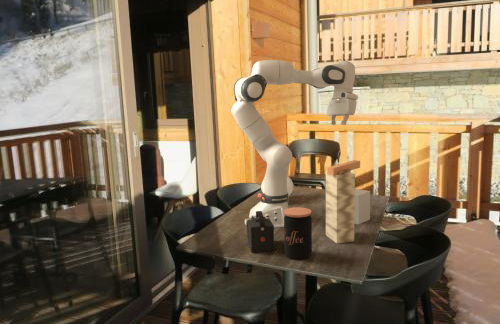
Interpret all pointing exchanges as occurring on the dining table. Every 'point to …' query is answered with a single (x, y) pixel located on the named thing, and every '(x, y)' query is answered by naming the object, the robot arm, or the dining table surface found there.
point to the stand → (340, 206)
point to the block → (343, 167)
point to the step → (361, 206)
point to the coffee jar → (297, 233)
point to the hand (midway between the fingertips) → (338, 124)
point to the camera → (260, 233)
